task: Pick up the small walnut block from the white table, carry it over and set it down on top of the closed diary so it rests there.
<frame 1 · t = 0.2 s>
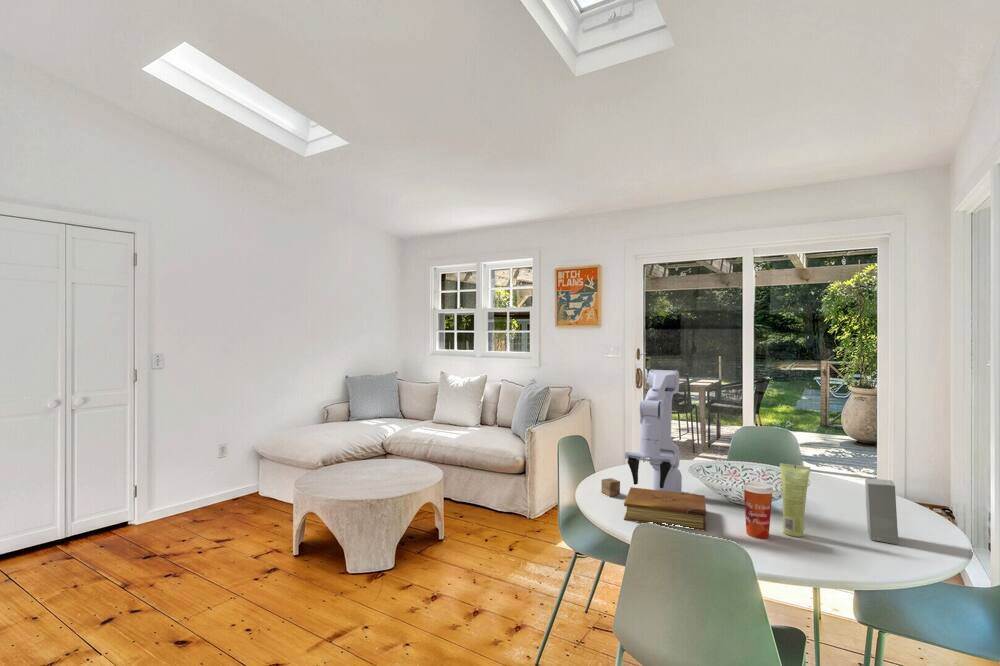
hand: (648, 486, 154), 11 cm above the table, tool pointing down, fingers open, 7 cm apart
tube: (794, 535, 146), on the table
diary: (665, 517, 160), on the table
paper cup: (757, 535, 145), on the table
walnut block: (610, 494, 180), on the table
skincare box: (880, 538, 144), on the table
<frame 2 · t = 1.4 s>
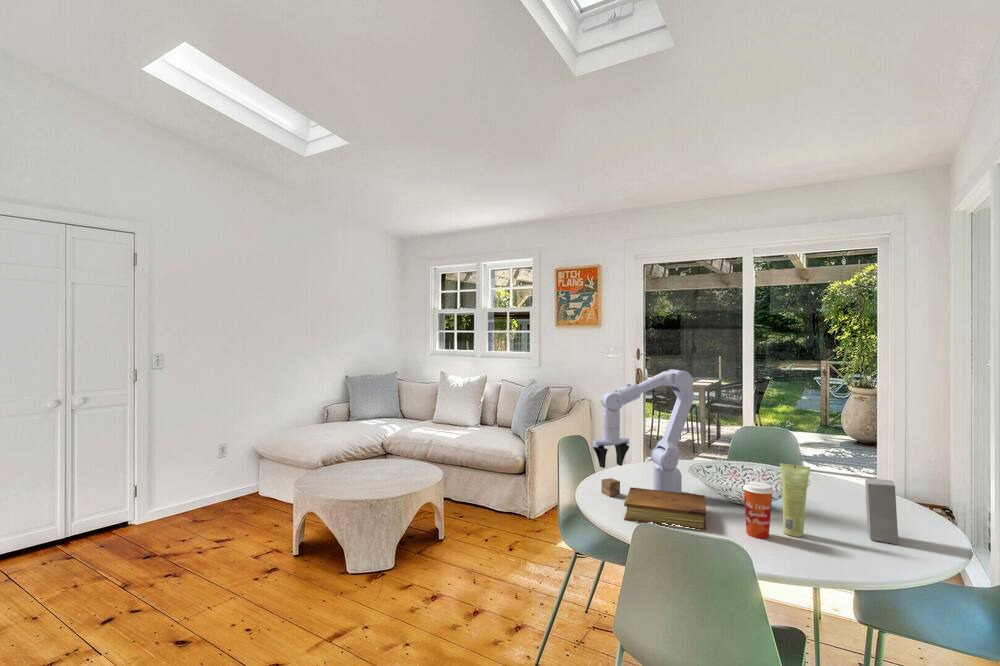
hand: (610, 466, 180), 10 cm above the table, tool pointing down, fingers open, 7 cm apart
nothing on the table moved.
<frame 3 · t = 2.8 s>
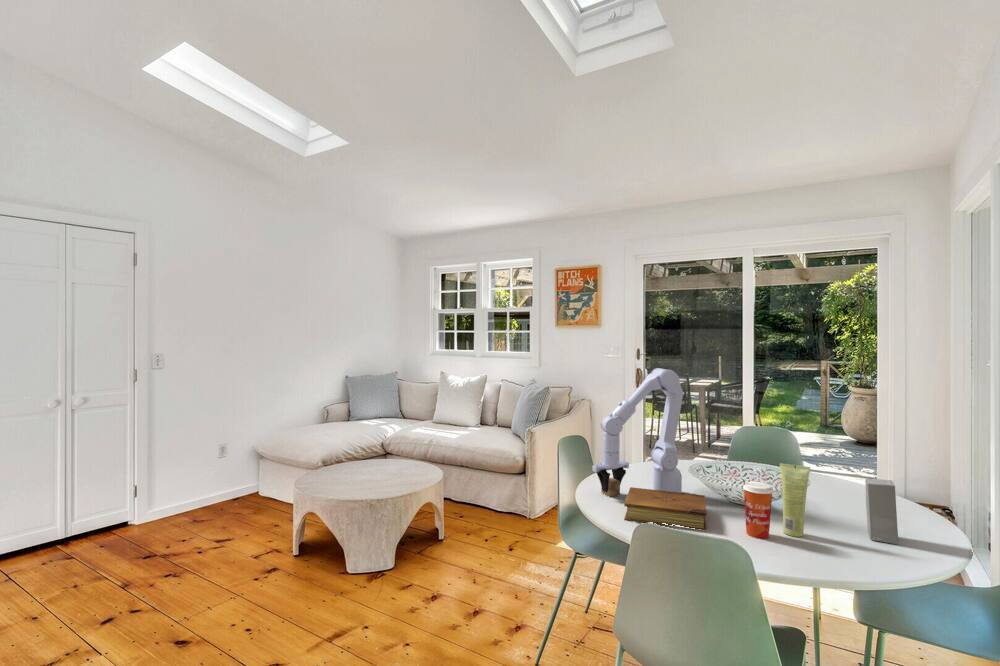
hand: (610, 490, 180), 1 cm above the table, tool pointing down, fingers closed on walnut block, 4 cm apart
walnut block: (610, 494, 180), on the table, touching gripper
everything else where it was.
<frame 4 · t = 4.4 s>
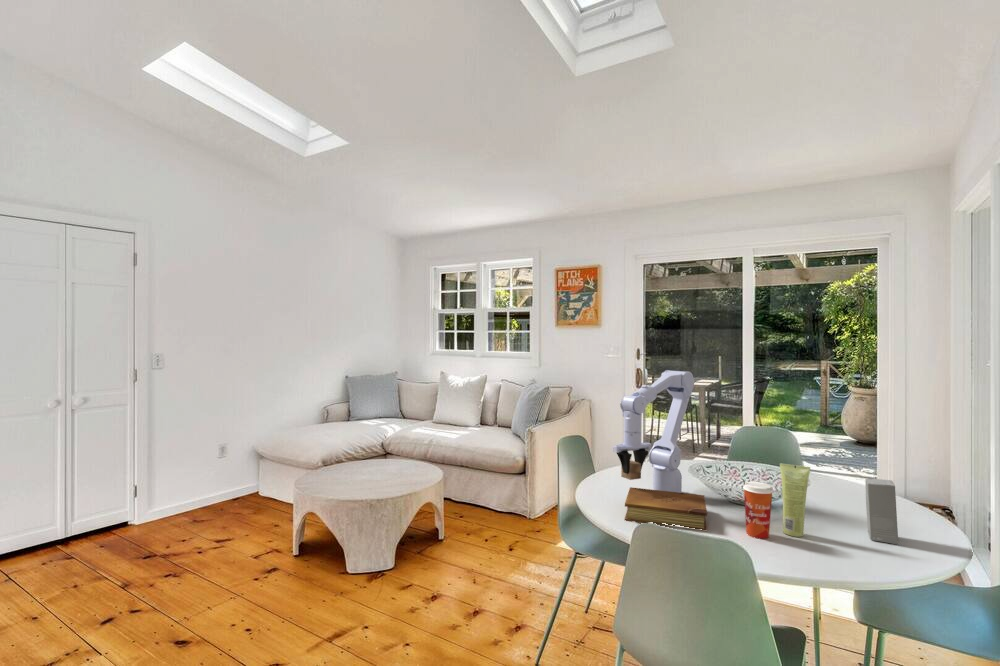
hand: (632, 472, 173), 10 cm above the table, tool pointing down, fingers closed on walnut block, 4 cm apart
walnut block: (631, 477, 173), point 8 cm above the table, touching gripper
everything else where it was.
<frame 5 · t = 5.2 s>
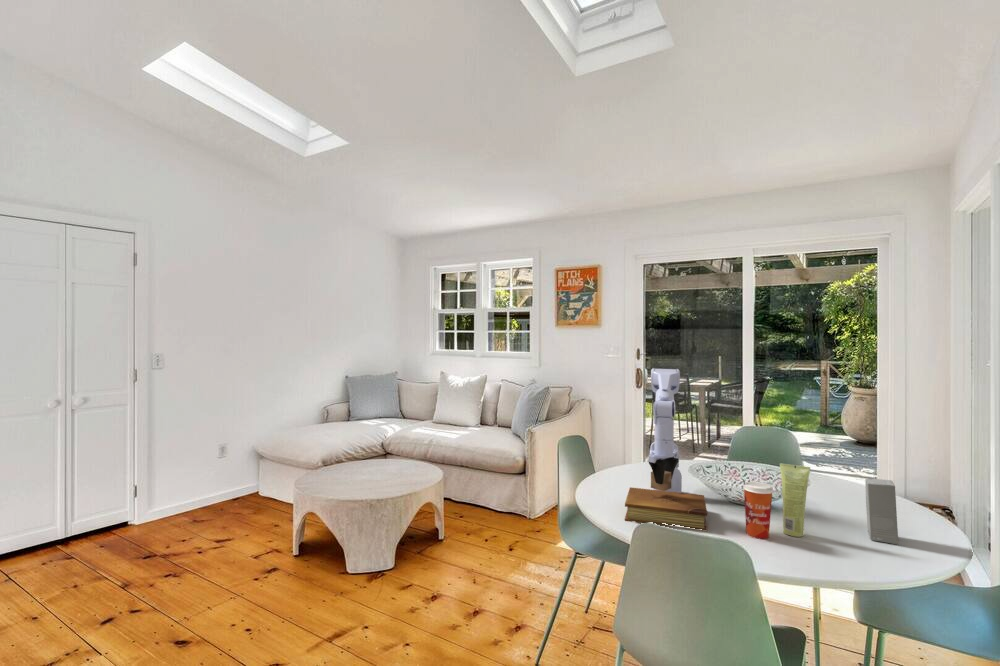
hand: (663, 482, 162), 10 cm above the table, tool pointing down, fingers closed on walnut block, 4 cm apart
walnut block: (661, 488, 163), point 8 cm above the table, touching gripper
everything else where it was.
when the fingers open (9 cm above the table, at t = 5.9 s): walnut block drops 2 cm, resting on diary.
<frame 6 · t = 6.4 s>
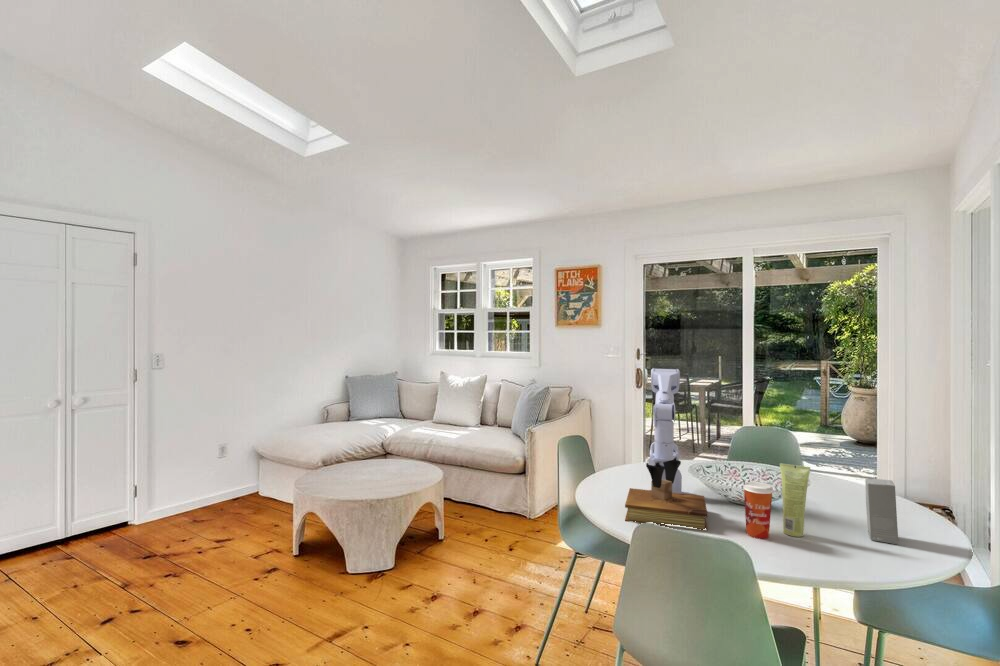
hand: (663, 485, 162), 9 cm above the table, tool pointing down, fingers open, 7 cm apart
diary: (665, 518, 160), on the table, touching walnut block
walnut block: (661, 497, 162), point 5 cm above the table, touching diary
everything else where it was.
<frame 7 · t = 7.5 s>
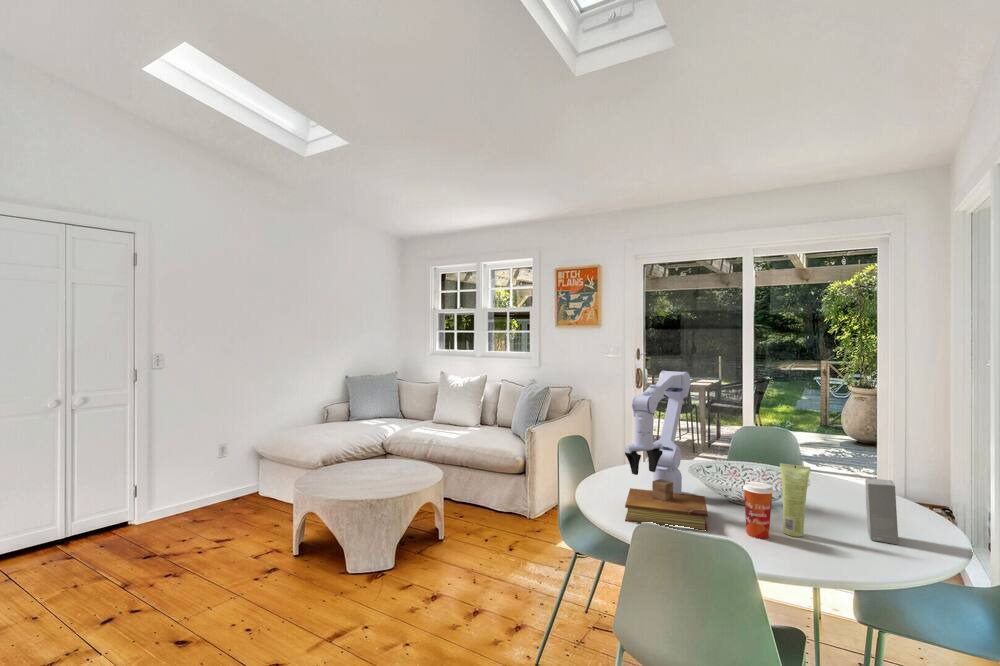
hand: (643, 472, 170), 10 cm above the table, tool pointing down, fingers open, 7 cm apart
diary: (665, 518, 159), on the table
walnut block: (662, 497, 161), point 5 cm above the table
everything else where it was.
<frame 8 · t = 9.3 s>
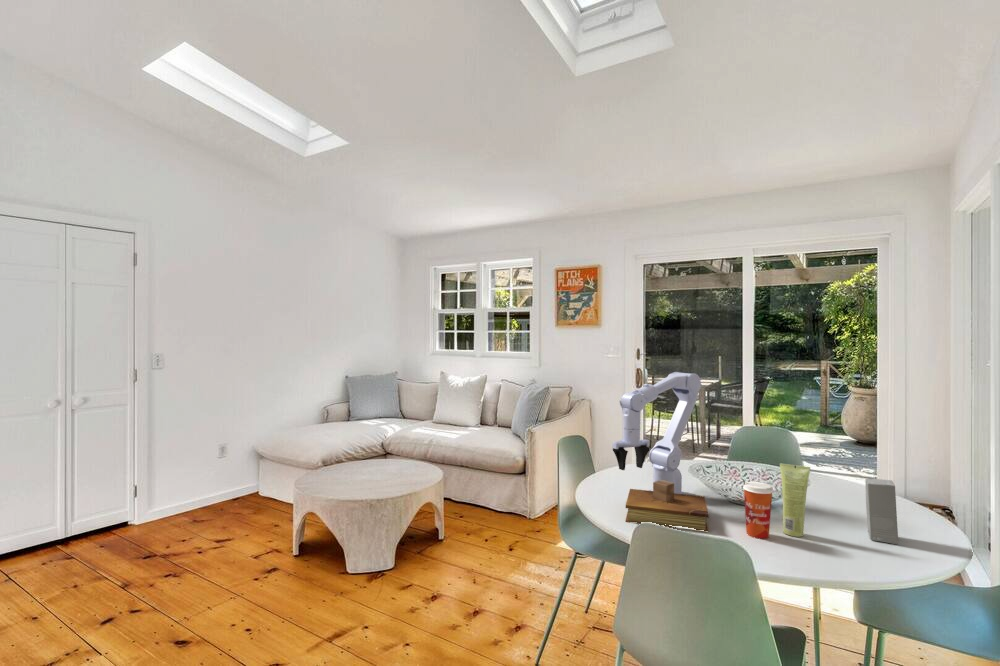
hand: (630, 468, 175), 10 cm above the table, tool pointing down, fingers open, 7 cm apart
diary: (666, 519, 159), on the table, touching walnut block
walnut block: (663, 498, 160), point 5 cm above the table, touching diary
everything else where it was.
at the end: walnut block point 4.9 cm above the table; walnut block 1.4 cm from the diary (horizontally); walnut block tilted 0° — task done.
